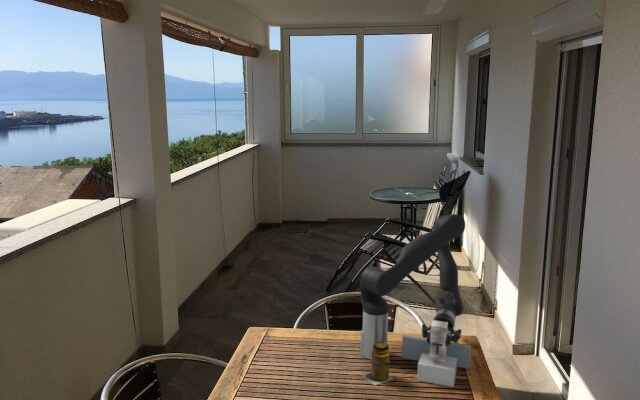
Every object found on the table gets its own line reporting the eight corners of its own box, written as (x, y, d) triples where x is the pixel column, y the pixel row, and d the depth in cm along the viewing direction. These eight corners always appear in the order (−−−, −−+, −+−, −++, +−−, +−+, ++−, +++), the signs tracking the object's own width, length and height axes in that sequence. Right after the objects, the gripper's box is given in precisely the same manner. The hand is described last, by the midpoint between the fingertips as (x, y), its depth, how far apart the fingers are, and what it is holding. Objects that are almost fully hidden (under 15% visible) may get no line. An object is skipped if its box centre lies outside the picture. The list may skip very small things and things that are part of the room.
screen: (401, 357, 198) (402, 337, 197) (402, 355, 200) (403, 335, 199) (469, 368, 191) (470, 347, 189) (469, 366, 192) (471, 345, 191)
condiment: (394, 378, 183) (395, 345, 181) (374, 386, 179) (375, 352, 177) (380, 370, 189) (381, 337, 187) (361, 376, 185) (361, 343, 183)
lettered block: (429, 359, 181) (430, 326, 179) (431, 353, 186) (432, 320, 184) (444, 362, 180) (446, 328, 178) (446, 355, 185) (447, 322, 182)
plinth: (417, 380, 182) (417, 364, 181) (421, 368, 191) (422, 352, 190) (453, 387, 178) (454, 370, 177) (456, 374, 187) (457, 358, 186)
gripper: (424, 310, 197) (416, 328, 181) (464, 315, 192) (460, 334, 176) (423, 329, 198) (415, 349, 182) (463, 335, 194) (459, 356, 178)
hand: (437, 342), depth 180 cm, fingers closed on lettered block, 5 cm apart
